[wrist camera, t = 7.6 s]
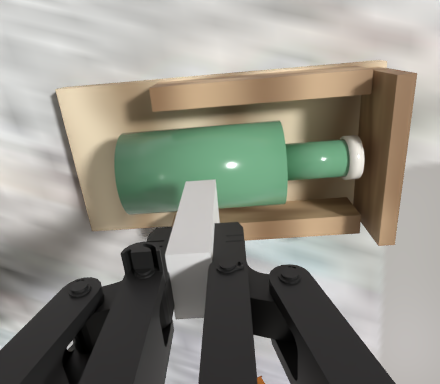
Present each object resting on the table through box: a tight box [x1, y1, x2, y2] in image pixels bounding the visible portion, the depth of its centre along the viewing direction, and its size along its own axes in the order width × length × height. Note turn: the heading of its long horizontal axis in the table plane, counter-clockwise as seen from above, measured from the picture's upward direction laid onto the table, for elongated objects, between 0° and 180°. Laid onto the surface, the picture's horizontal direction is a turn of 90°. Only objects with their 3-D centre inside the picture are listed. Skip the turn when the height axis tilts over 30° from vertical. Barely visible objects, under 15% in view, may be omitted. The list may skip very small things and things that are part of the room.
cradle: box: [56, 60, 417, 246], centre depth 24 cm, size 22×11×6 cm, turn 95°
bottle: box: [114, 120, 364, 215], centre depth 23 cm, size 5×5×15 cm
